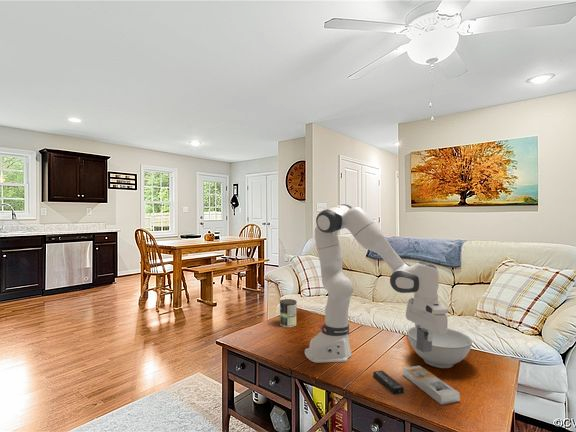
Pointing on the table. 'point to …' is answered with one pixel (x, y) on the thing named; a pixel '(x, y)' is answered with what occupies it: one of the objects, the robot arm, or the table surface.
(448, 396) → the rail
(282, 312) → the coffee can
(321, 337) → the robot arm
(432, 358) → the decorative bowl
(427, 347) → the square peg
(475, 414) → the table surface
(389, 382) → the multiport hub
